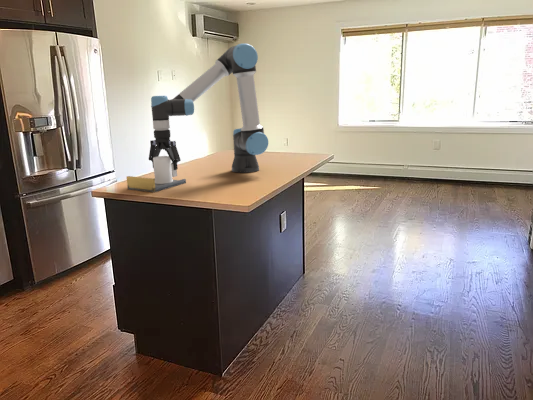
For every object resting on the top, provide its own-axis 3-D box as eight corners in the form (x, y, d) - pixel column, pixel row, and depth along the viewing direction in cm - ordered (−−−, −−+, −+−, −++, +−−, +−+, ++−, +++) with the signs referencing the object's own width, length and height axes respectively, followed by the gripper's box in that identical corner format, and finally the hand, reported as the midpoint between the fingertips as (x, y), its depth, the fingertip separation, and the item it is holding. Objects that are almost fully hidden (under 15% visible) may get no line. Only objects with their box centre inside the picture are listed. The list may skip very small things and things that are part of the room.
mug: (165, 178, 215) (163, 154, 212) (180, 179, 212) (178, 155, 209) (151, 183, 205) (148, 158, 201) (166, 184, 201) (164, 159, 198)
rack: (186, 182, 209) (185, 170, 207) (153, 192, 190) (152, 179, 189) (161, 180, 217) (160, 168, 215) (127, 189, 198) (126, 176, 197)
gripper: (186, 129, 200) (189, 176, 205) (149, 128, 211) (153, 172, 216) (175, 130, 193) (179, 178, 199) (137, 129, 205) (142, 175, 210)
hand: (165, 175), depth 208 cm, fingers open, 10 cm apart
